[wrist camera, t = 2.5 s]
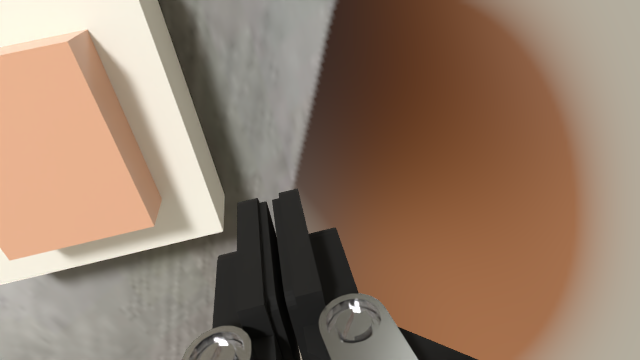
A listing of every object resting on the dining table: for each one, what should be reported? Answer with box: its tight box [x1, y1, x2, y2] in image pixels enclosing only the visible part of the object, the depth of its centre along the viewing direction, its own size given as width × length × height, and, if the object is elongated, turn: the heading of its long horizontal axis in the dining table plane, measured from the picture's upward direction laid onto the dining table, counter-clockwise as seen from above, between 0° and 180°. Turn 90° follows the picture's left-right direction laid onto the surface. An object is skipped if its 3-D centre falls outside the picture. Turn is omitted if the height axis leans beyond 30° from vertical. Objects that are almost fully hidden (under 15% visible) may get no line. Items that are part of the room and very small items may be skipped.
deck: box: [0, 0, 225, 285], centre depth 22 cm, size 15×14×4 cm
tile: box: [0, 29, 162, 261], centre depth 19 cm, size 9×7×2 cm
